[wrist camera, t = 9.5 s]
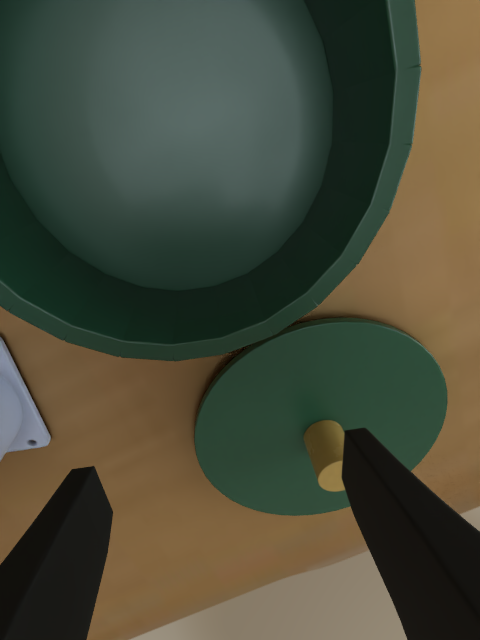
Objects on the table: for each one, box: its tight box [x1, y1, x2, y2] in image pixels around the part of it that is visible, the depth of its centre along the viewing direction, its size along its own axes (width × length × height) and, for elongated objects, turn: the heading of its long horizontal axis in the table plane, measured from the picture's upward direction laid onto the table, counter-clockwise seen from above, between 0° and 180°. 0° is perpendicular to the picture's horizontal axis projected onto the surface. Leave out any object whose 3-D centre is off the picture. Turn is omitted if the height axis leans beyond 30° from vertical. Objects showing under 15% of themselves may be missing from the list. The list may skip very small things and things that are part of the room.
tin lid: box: [194, 317, 447, 516], centre depth 22 cm, size 17×17×4 cm
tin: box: [0, 0, 421, 361], centre depth 13 cm, size 16×16×6 cm
